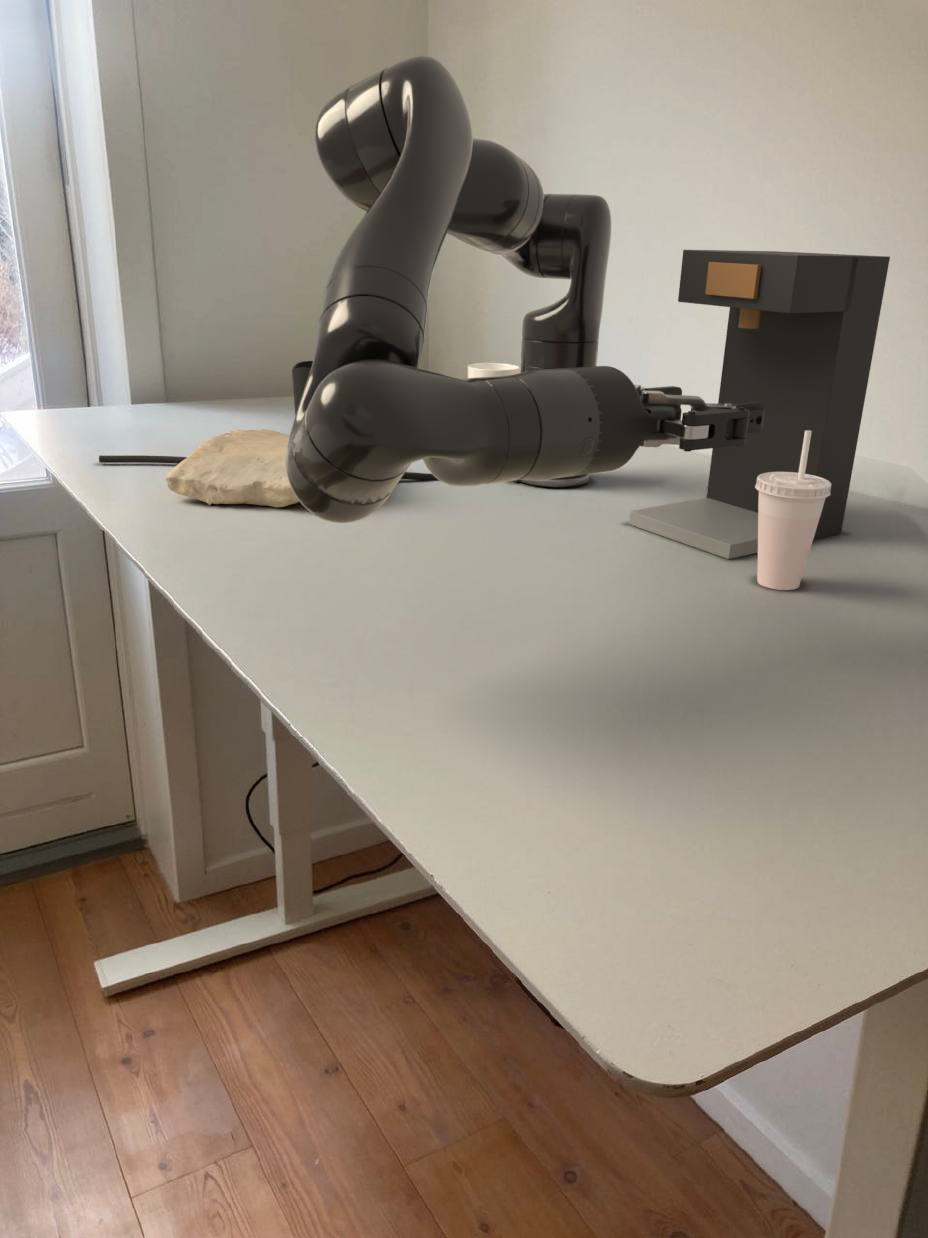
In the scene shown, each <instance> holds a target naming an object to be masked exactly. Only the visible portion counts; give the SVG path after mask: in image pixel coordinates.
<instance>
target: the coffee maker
mask: <svg viewBox="0 0 928 1238" xmlns="http://www.w3.org/2000/svg"><path fill="white" fill-rule="evenodd" d="M890 259H891V256H885V255H884V256H883V255H864V254H863V255H862V254H843V253H842V254H841V253H822V252H821V253H820V252H802V251H801V252H798V251H776V250H731V249H730V250H726V249H725V250H723V249H720V250H719V249H683V250H682V259H681V267H680V268H681V269H680V276H679V277H680V278H679V287H678V298H677V302H678V303H685V304H696V305H705V306H716V307H723V308H729V312H728V320H727V328H726V336H725V342H724V351H723V359H722V368H721V375H720V376H721V377H720V383H719V393H718V400H717V404H725V403H732V404H735V403H745V402H760V403H764V404H765V409H766V410H765V417H764V424H763V428H762V429H761V431H760V432H756V433H748V434H747V436H746V443H745V445H740V446H729V447H719V448H711V458H710V466H709V474H708V482H707V483H708V484H707V489H706V490H707V491H706V497H702V498H697V499H691V500H684V501H679V502H674V503H668V504H662V505H657V506H652V507H646V508H641V509H634V510H630V511H629V519H628V520H629V521H628V525H630V526H632V527H635V528H639V529H641V530H644V531H647V532H650V533H653V534H655V535H658V536H662V537H664V538H667V539H670V540H673V541H675V542H679V543H682V544H684V545H687V546H690V547H692V548H696V549H698V550H701V551H703V552H706V553H710V554H712V555H715V556H718V557H721V558H724V559H727V560H731V559H736V558H740V557H744V556H748V555H749V556H750V555H753V554H758V499H759V491H758V490H757V489H756V488H755V485H756V482H757V477H758V476H759V475H760V474H763V473H768V472H795V473H798V472H799V466H800V460H801V453H802V447H803V440H804V434H805V430H810V431H812V432H811V439H810V445H809V451H808V458H807V464H806V470H805V474H809V475H814V476H818V477H821V478H824V479H826V480H828V481H829V482H830V483H831V490H830V496H828V497H826V499H825V502H824V505H823V509H822V512H821V516H820V519H819V522H818V525H817V529H816V532H815V535H814V538H813V541H814V540H818V539H822V538H826V537H831V536H836V535H840V534H842V532H843V525H844V520H845V514H846V509H847V503H848V497H849V492H850V488H851V487H850V486H851V481H852V474H853V469H854V464H855V458H856V452H857V447H858V446H857V445H858V442H859V441H858V440H859V436H860V435H859V434H860V430H861V423H862V420H863V419H862V417H863V412H864V406H865V401H866V395H867V389H868V384H869V379H870V372H871V369H872V368H871V367H872V363H873V362H872V361H873V357H874V350H875V345H876V339H877V333H878V327H879V322H880V316H881V310H882V305H883V301H884V300H883V298H884V293H885V287H886V281H887V276H888V271H889V267H890Z"/></svg>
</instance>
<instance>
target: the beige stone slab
mask: <svg viewBox="0 0 928 1238" xmlns="http://www.w3.org/2000/svg"><path fill="white" fill-rule="evenodd" d="M289 437H290V434H286V433H283V432H280V431H277V430H273V429H265V428H261V429H237V430H235V431H231V430H230V431H229V432H226V433H223V434H219V435H216V436H212V437H211V438H209V439H207V440H206V441H203V442H201V443H200V444H198V446H197V447H196V448H195V449H194V450H193V451H192V452H191V454H190V455H188V456H186V457H187V458H186V459H184V460H183V461H181V462H180V463H179V464H176V465H175V466H174V467H173V468H172V469H171V470H170V471H169V472H168V474H167V475H166V477H165V480H166V484H167V487H168V489H169V490H170V491H172V492H173V493H175V494H176V495H179V496H180V495H181V496H184V497H188V498H192V499H195V500H198V501H201V502H202V503H203V502H204V503H206V504H207V505H208V506H211V505H212V504H214V505H221V504H223V505H240V504H246V505H247V504H248V505H256V506H267V507H268V506H269V507H272V508H284V507H287V506H291V505H294V504H298V503H300V501H299V500H298V499H297V497H296V496H295V494H294V492H293V490H292V488H291V486H290V483H289V480H288V477H287V472H286V451H287V446H288V441H289Z"/></svg>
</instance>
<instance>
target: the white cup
mask: <svg viewBox="0 0 928 1238" xmlns="http://www.w3.org/2000/svg"><path fill="white" fill-rule="evenodd" d="M520 371H521V366H519V365H516V364H510V363H500V362H499V363H498V362H478V363H470V364H467V378H478V377H493V376H508V375H514V374H518V373H520Z"/></svg>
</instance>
